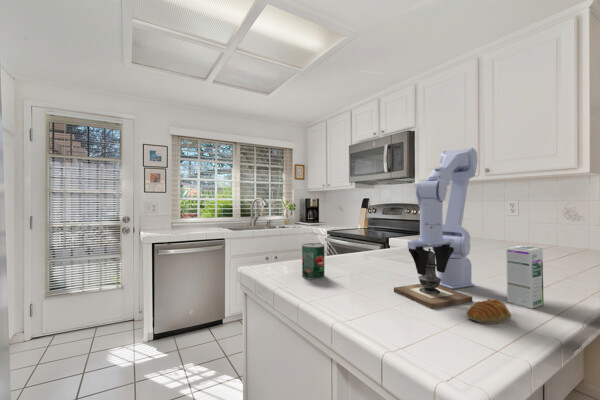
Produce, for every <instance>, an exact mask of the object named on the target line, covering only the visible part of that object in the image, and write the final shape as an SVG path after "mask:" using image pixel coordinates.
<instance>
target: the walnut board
mask: <svg viewBox="0 0 600 400" xmlns="http://www.w3.org/2000/svg"><path fill="white" fill-rule="evenodd" d="M422 287H423V286H422V285H421V284H420V283H417V284H409V285H403V286H395V287H393V292H394V293H396V294H398V295H400V296H403V297H404V296H405V298H407V299H409V300H411V301H413V302H415V301H416V303H418V304H420V305H422V306H424V305H425V306H424V307H426V306H427V307H426V308H428V307H429V309H432V310H434V309H439V308H444V307H449V306H454V305H460V304H464V303H465V304H466V303H472V302H473V301H474V300H473V299H474V298H473V296H472V295H468V294H466V293H463V292H460V291H457V290H454V289H450V288H447V287H444V286H442V285H439V286H438V287H437V288H436V289H438V290H439V291H440V293H439V294H426V293H423V292H421V291H420V290H419V289H420V288H422Z"/></svg>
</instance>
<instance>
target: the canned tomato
mask: <svg viewBox="0 0 600 400" xmlns="http://www.w3.org/2000/svg"><path fill="white" fill-rule="evenodd" d="M301 257H302V259H301V270H302V271H301V276H302V278H303V279H306V280H321V279H323V278H325V268H326V267H325V243H320V242H319V243H318V242H317V243H316V242H309V243H303V244H302V245H301Z"/></svg>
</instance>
